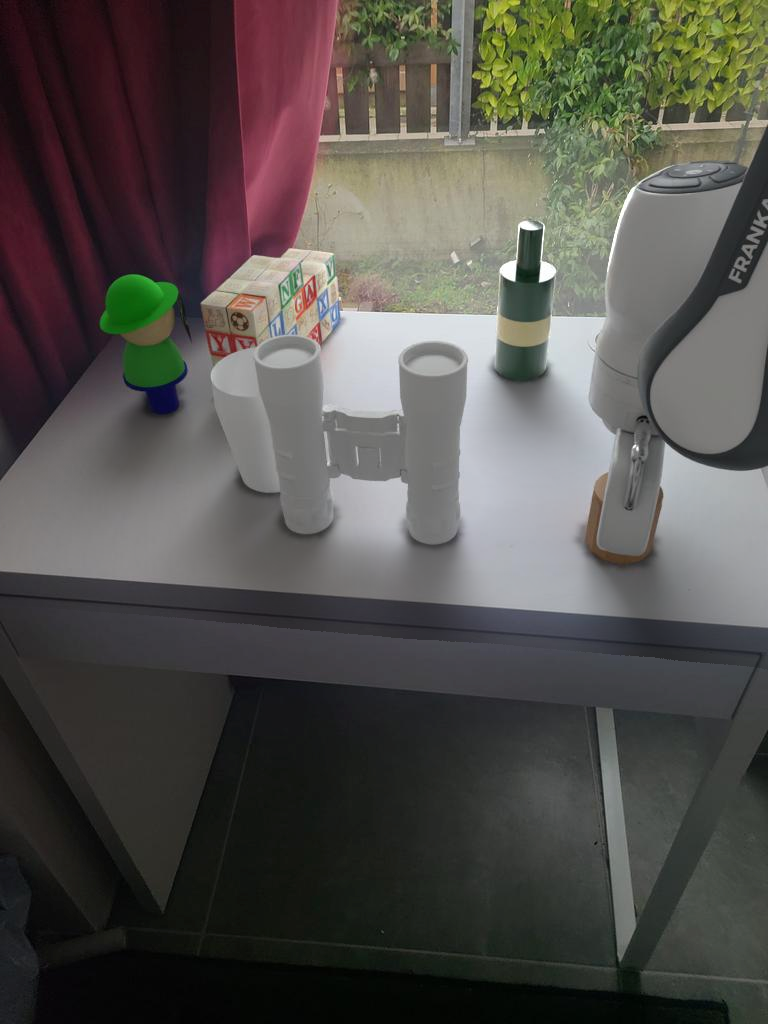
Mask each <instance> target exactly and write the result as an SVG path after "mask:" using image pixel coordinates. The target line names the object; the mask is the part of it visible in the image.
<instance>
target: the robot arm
mask: <svg viewBox="0 0 768 1024" xmlns="http://www.w3.org/2000/svg"><path fill="white" fill-rule="evenodd" d="M757 145H758V146H757V148H756V150H755V152H754V155H753V157H752V159H751V162H750V164H749V166H746V165H743V164H739V163H737V162H735V161H729V160H719V159H717V160H713V159H712V160H695V161H689V162H685V163H680V164H673V165H670V166H667V167H665V168H662V169H660V170H658V171H656V172H653V173H652V174H650V175H648V176H647V177H644V178H643V179H642V180H640V181H639V182H638V183H637V184H636V185H634V187H632V188H631V189H630V192H628V195H627V197H626V199H625V201H624V203H623V207H622V209H621V212H620V215H619V218H618V221H617V226H616V228H615V233H614V236H613V241H612V245H611V250H610V253H609V261H608V265H607V269H606V277H605V282H604V289H603V290H604V291H603V292H604V293H603V294H604V295H603V296H604V297H603V298H604V302H605V310H606V311H605V312H606V314H605V320H604V323H603V325H602V327H601V329H600V331H599V333H598V336H597V339H596V343H595V351H594V357H593V364H592V370H591V375H590V376H591V377H590V383H589V384H590V385H589V390H588V403H589V406H590V408H591V410H592V411H593V412H594V414H595V415H596V416H597V417H599V419H601V421H602V423H603V425H604V427H605V428H606V429H607V430H608V431H609V432H610V433H612V434H613V435H614V437H615V438H614V441H613V447H612V452H611V458H610V463H609V468H608V472H609V473H608V479H607V484H606V489H605V495H604V500H603V506H602V511H601V517H600V522H599V528H598V533H597V545H598V547H599V548H600V549H601V550H604V551H609V552H610V553H616V554H621V555H631V556H640V555H642V554H643V553H644V551H645V550H646V547H647V544H648V540H649V535H650V531H651V526H652V522H653V518H654V513H655V508H656V504H657V499H658V494H659V489H660V486H661V483H662V477H663V467H664V459H665V451H666V450H665V449H666V445H668V446H669V448H671V449H672V450H674V451H675V452H676V453H678V454H679V455H681V456H682V457H684V458H686V459H688V460H690V461H692V462H695V463H696V464H701V465H704V466H707V467H710V468H714V469H720V470H726V471H731V472H732V471H735V472H747V471H754V470H760V469H763V468H766V467H768V124H767V125H766V127H765V129H764V131H763V134H762V137H761V139H760V141H759V143H758V144H757Z"/></svg>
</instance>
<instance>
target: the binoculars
mask: <svg viewBox="0 0 768 1024" xmlns="http://www.w3.org/2000/svg"><path fill="white" fill-rule="evenodd" d="M321 351H322V350H321V344H320V345H319V344H318V343H317V342H316V341H315V340H313V339H311V338H309V337H306V336H302V335H281V336H276V337H273V338H270V339H267V340H265V341H264V342H262V343H260V344H259V345H258V346H257V347H256V348H255V350H254V352H253V359H254V362H255V368H256V374H257V380H258V386H259V392H260V395H261V398H262V401H263V404H264V407H265V410H266V413H267V416H268V419H269V422H270V427H271V434H272V440H273V443H272V445H273V449H274V452H275V458H276V470H277V472H278V477H279V487H280V492H279V493H280V496H279V500H280V508H281V511H282V514H283V517H284V523H285V525H286V527H287V528H288V529H289V530H291V531H292V532H294V533H296V534H300V535H313V534H317V533H320V532H323V531H324V530H326V529H327V528H328V527H330V525H331V524H332V523H333V520H334V505H335V503H334V494H333V492H332V488H331V481H330V479H338V478H340V477H341V475H344V476H347V477H350V478H351V479H353V480H358V481H366V482H367V481H369V482H388V481H390V480H394V479H398V478H400V481H401V483H404V484H407V493H406V495H407V497H406V498H407V501H406V503H405V512H406V513H405V517H406V519H407V528H408V529H407V530H408V532H409V533H408V534H410V536H411V537H412V539H414V540H415V541H417V542H420V543H422V544H425V545H441V544H444V543H447V542H450V541H451V540H452V539H454V537H455V536H456V535H457V533H458V530H459V522H460V518H461V503H460V489H459V487H460V486H459V483H460V475H461V473H460V456H461V447H460V446H461V445H460V444H461V425H462V420H463V416H464V410H465V406H466V400H467V391H468V390H467V387H468V385H467V384H468V363H469V355H468V353H467V352H466V351H465V350H464V349H462V348H461V346H459V345H457V344H454V343H451V342H447V341H442V340H426V341H419V342H417V343H414V344H411V345H409V346H408V347H405V348H404V349H403V350H402V351H401V352H400V354H399V356H398V360H397V362H398V366H399V367H398V370H399V371H398V374H399V375H398V376H399V377H398V378H399V399H400V403H401V409H399V410H398V409H392V410H387V411H367V410H356V409H349V408H345V407H342V406H336V405H334V404H331V403H330V404H325V405H324V390H325V385H324V383H325V382H324V375H323V363H322V354H321V353H322V352H321ZM325 435H326V440H325ZM326 445H327V449H326ZM327 453H328V458H327Z"/></svg>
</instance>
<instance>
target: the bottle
mask: <svg viewBox="0 0 768 1024" xmlns="http://www.w3.org/2000/svg"><path fill="white" fill-rule="evenodd" d="M544 233H545V224H544V223H543V222H541V221H538V220H525V221H521V222H520V223H519V224H518V234H517V246H516V248H517V250H516V259H515V260H512V261H508V262H506V263H504V264H502V266H501V267H500V269H499V278H498V279H499V280H498V296H497V298H498V299H497V308H496V321H495V322H496V323H495V324H496V325H495V349H494V366H493V367H494V370H495V372H496V373H497V374H498V375H499V376H500V377H503V378H505V379H509V380H513V381H530V380H534V379H537V378H539V377H541V376H542V375H544V374H545V373H546V370H547V363H548V356H549V355H548V354H549V345H550V336H551V330H552V329H551V328H552V322H553V321H552V320H553V307H554V306H553V305H554V298H555V297H554V296H555V287H556V279H557V278H556V277H557V270H556V267H554V266H553V265H552V264H550V263H548V262H546V261H543V260H542V256H543V244H544Z"/></svg>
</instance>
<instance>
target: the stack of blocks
mask: <svg viewBox="0 0 768 1024" xmlns="http://www.w3.org/2000/svg"><path fill="white" fill-rule="evenodd" d="M336 270H337V269H336V257H335V253H334V252H329V251H328V252H327V251H320V250H309V249H308V250H307V249H299V248H290V247H289V248H288V249H286V251H285V252H284V253H283V254H282V255H281V256H280V257H272V256H264V255H258V254H257V255H256V254H253V255H252V256H250V257H249V258H248V259H247V260H246V261H245V262H244V263H243V264H242V265H241V266H240V267H239V268H238V269H237V270H236V271H234V273H232V275H231V276H230V277H229V278H227V279H226V280H225V281H224V282H223V283H221V284H220V285H219V286H218V288H216V289H215V290H214V291H212V292H211V293H210V294H209V295H208V296H207V297H206V298H204V299H203V300H202V301H201V302H200V309H201V313H202V319H203V323H204V327H205V330H204V331H205V336H206V342H207V346H208V350H209V354H210V357H211V362H212V366H213V368H214V366H215V365H216V364H217V363H218V362H219V361H220V360H221V359H223V358H224V357H226V356H228V355H230V354H232V353H235V352H237V351H240V350H244V349H248V348H254V347H257V346H258V345H259V344H260V343H262V342H264V341H265V340H267V339H270V338H273V337H276V336H281V335H302V336H306V337H309V338H311V339H313V340H315V341H316V342H317V343H318V344H319V345H320V346H321V344H322V343H323V342H324V341H325V340H326V339H327V338H328V337H329V335H330V334H331V333H332V331H334V329H335V328H336V327H337V326H338V324H339V323H340V321H341V320H342V319H341V308H340V306H341V305H340V293H339V292H340V291H339V282H338V281H339V280H338V276H337V271H336Z"/></svg>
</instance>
